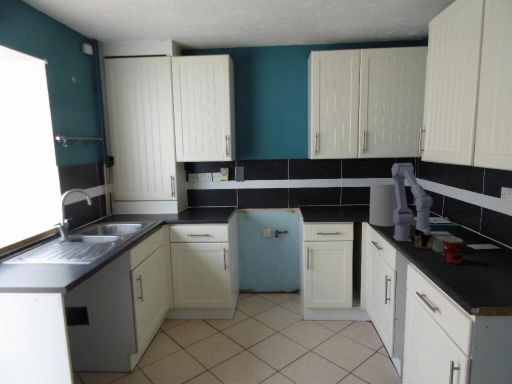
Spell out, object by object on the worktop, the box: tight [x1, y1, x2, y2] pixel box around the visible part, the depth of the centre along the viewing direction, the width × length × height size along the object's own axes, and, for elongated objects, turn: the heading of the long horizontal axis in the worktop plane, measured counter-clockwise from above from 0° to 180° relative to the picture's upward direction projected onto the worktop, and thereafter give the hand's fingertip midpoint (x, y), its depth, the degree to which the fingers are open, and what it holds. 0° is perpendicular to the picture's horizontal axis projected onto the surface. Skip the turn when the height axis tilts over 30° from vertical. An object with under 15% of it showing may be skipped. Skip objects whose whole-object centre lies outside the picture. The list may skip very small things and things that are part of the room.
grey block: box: [430, 231, 456, 253], centre depth 171 cm, size 14×11×8 cm
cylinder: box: [369, 182, 397, 227], centre depth 225 cm, size 17×17×28 cm
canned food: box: [441, 236, 464, 265], centre depth 152 cm, size 8×8×11 cm
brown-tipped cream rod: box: [414, 235, 433, 249], centre depth 172 cm, size 2×14×6 cm, turn 82°
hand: (421, 244), depth 173 cm, fingers open, 7 cm apart
